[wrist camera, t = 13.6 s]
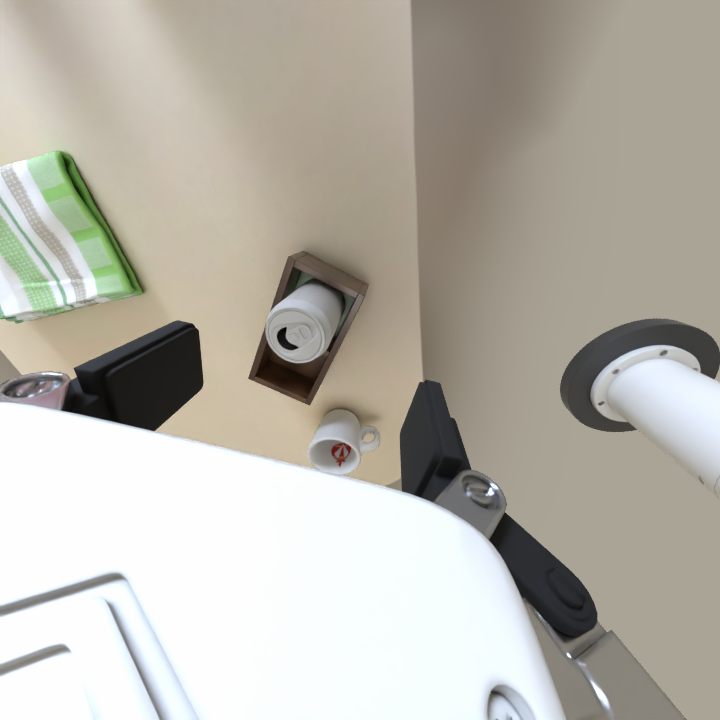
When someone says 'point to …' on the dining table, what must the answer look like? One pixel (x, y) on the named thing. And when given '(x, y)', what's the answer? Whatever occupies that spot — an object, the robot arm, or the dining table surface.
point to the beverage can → (305, 321)
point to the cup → (340, 443)
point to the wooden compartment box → (309, 376)
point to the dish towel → (55, 243)
